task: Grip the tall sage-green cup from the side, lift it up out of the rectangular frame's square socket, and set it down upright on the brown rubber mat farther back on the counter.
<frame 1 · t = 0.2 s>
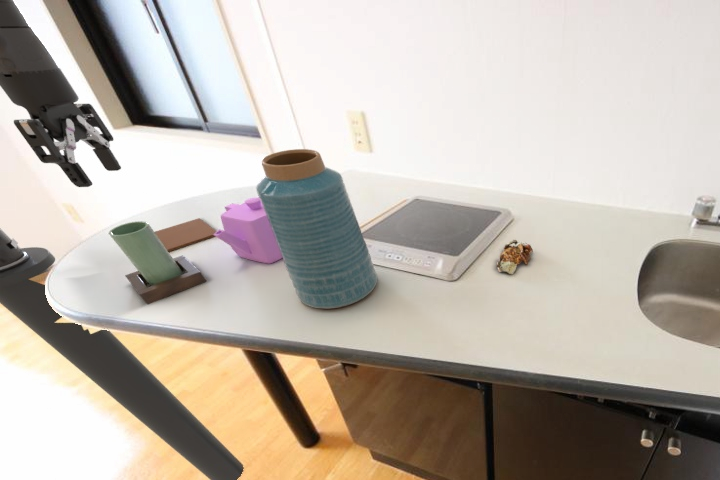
hand: (100, 177, 65), 23 cm above the worktop, tool pointing down, fingers open, 8 cm apart
mat: (180, 236, 96), on the worktop
vase: (340, 289, 78), on the worktop
cup: (150, 257, 75), in the rectangular frame
rectangular frame: (169, 283, 80), on the worktop
pastry: (514, 261, 86), on the worktop
teakettle: (275, 249, 91), on the worktop
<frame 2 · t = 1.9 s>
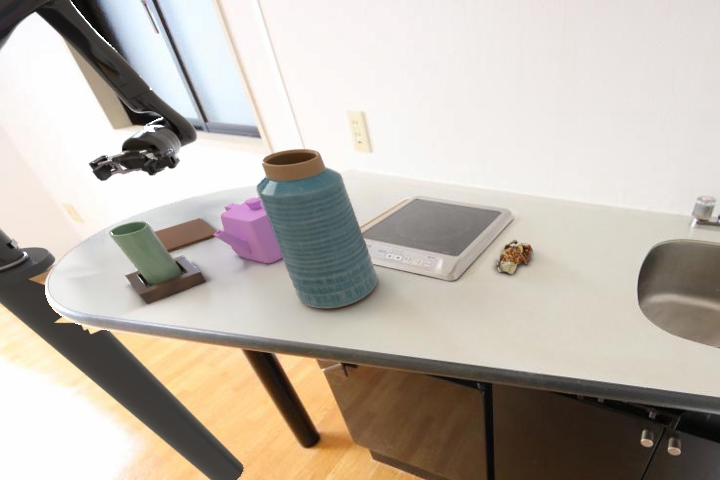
hand: (124, 173, 74), 20 cm above the worktop, tool horizontal, fingers open, 8 cm apart
nothing on the worktop moved.
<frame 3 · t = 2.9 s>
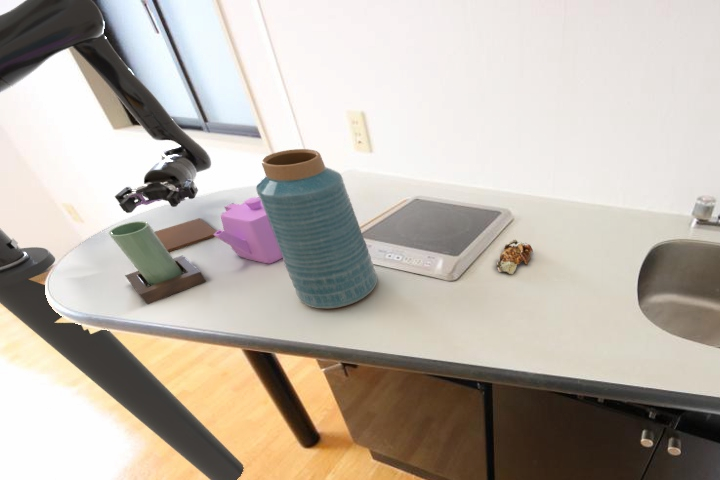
hand: (148, 205, 79), 13 cm above the worktop, tool horizontal, fingers open, 8 cm apart
nothing on the worktop moved.
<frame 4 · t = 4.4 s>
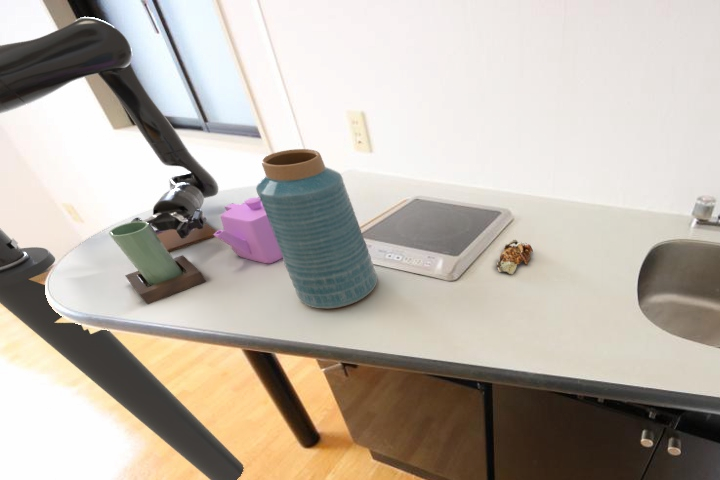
hand: (158, 237, 80), 8 cm above the worktop, tool horizontal, fingers open, 8 cm apart
nothing on the worktop moved.
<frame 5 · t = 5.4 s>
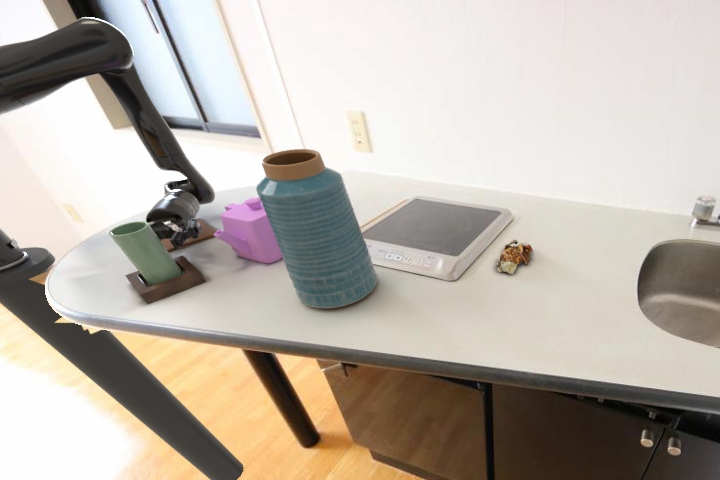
hand: (151, 248, 76), 8 cm above the worktop, tool horizontal, fingers open, 8 cm apart
nothing on the worktop moved.
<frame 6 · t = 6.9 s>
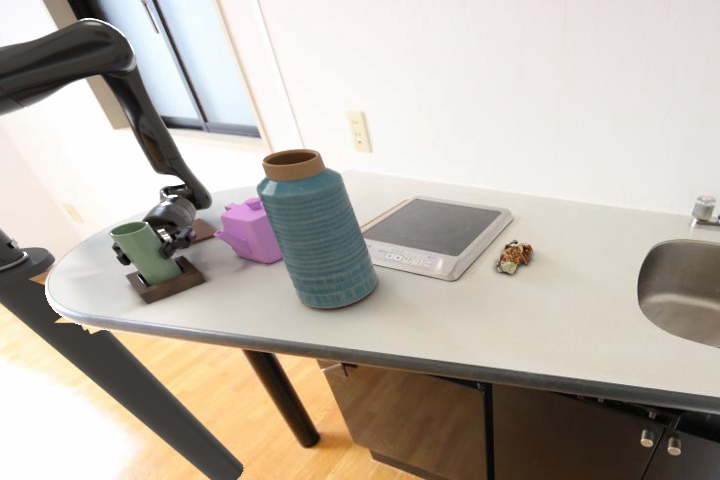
hand: (143, 258, 73), 8 cm above the worktop, tool horizontal, fingers closed on cup, 6 cm apart
cup: (150, 257, 75), in the rectangular frame, touching gripper
everything else where it was.
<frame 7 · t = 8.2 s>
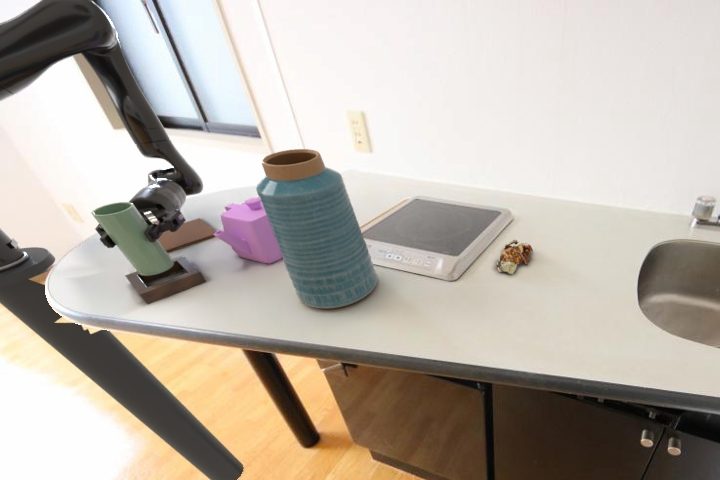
hand: (128, 240, 70), 12 cm above the worktop, tool horizontal, fingers closed on cup, 6 cm apart
cup: (136, 239, 73), point 11 cm above the worktop, touching gripper
everything else where it was.
when the fingers open (8 cm above the worktop, at t = 15.6 s): cup stays where it is, resting on mat.
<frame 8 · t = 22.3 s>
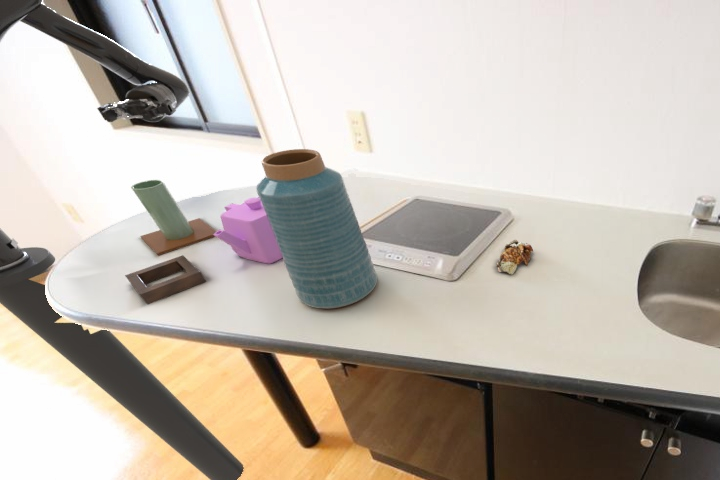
hand: (128, 115, 86), 26 cm above the worktop, tool horizontal, fingers open, 8 cm apart
cup: (164, 210, 91), on the mat, point 7 cm above the worktop
at the end: cup inside the target area on the mat (0.1 cm from its centre), point 7.1 cm above the mat's base; cup tilted 0°; cup moved 24.8 cm from its start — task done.
